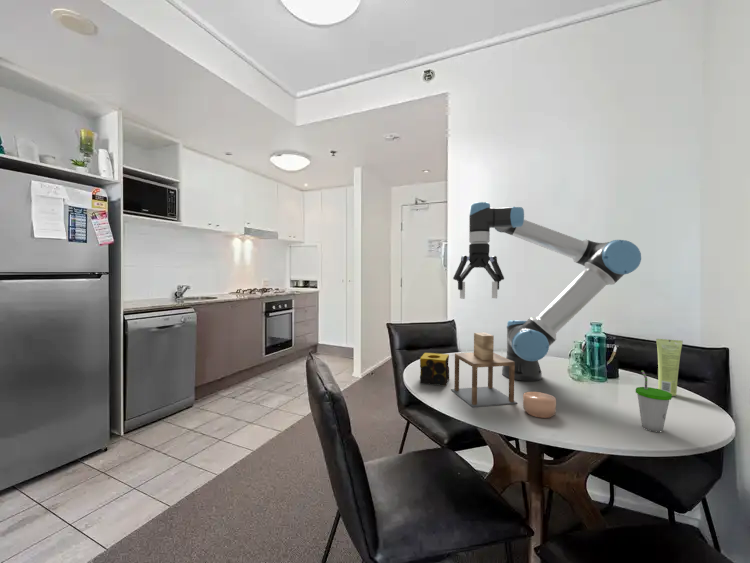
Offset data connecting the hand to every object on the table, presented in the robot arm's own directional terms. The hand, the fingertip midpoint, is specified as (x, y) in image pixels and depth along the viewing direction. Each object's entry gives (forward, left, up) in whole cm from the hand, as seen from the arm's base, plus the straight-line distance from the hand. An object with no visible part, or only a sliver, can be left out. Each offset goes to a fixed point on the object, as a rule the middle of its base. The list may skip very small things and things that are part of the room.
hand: (478, 298), depth 133 cm
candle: (+16, -4, -33) cm, 37 cm away
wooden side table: (+6, +15, -32) cm, 36 cm away
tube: (-60, +25, -33) cm, 73 cm away
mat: (+6, +15, -33) cm, 36 cm away
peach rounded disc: (-4, +31, -33) cm, 45 cm away
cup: (-28, +46, -33) cm, 63 cm away
